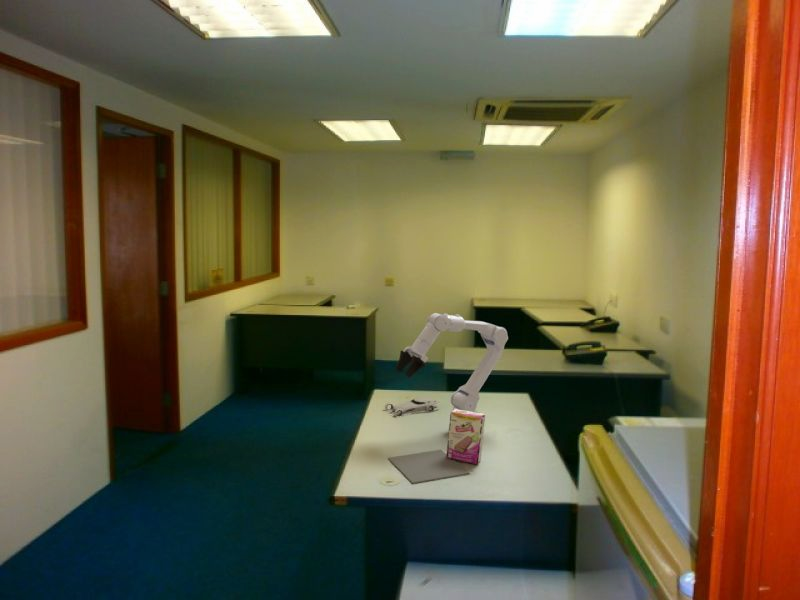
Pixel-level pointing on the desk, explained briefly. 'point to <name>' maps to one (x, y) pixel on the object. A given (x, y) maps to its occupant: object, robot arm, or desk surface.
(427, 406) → the car model
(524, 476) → the desk surface
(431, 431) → the desk surface
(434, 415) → the desk surface
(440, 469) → the mat
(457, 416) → the candy bar box
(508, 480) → the desk surface
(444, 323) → the robot arm
